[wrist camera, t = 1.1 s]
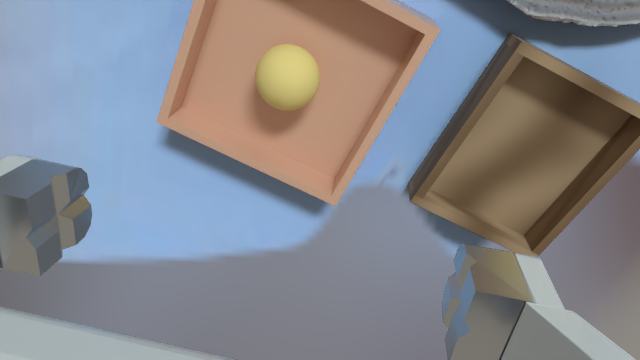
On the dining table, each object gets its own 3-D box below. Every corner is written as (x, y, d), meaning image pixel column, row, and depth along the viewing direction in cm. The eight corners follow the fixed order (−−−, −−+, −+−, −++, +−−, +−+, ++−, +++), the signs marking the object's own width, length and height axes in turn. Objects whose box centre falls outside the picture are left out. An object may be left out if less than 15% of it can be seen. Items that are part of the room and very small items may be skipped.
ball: (254, 82, 31) (238, 101, 27) (276, 26, 29) (262, 39, 25) (307, 108, 31) (298, 130, 28) (333, 55, 29) (327, 72, 26)
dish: (174, 107, 33) (156, 122, 30) (236, -86, 26) (221, -88, 24) (338, 185, 34) (335, 206, 32) (434, 20, 28) (440, 29, 25)
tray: (408, 183, 33) (410, 202, 31) (510, 32, 28) (521, 41, 25) (523, 239, 35) (533, 261, 32) (644, 105, 29) (666, 120, 27)
